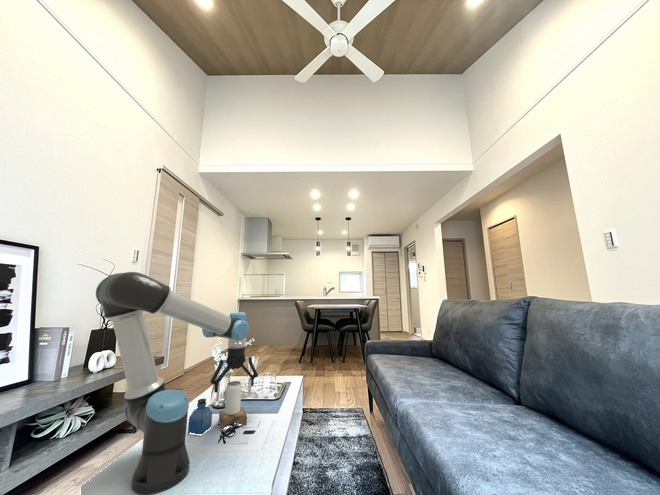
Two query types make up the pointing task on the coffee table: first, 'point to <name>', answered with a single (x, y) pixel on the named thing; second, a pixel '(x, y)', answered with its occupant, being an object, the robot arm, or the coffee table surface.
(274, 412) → the coffee table surface
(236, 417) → the plinth
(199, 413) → the perfume bottle
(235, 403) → the can
